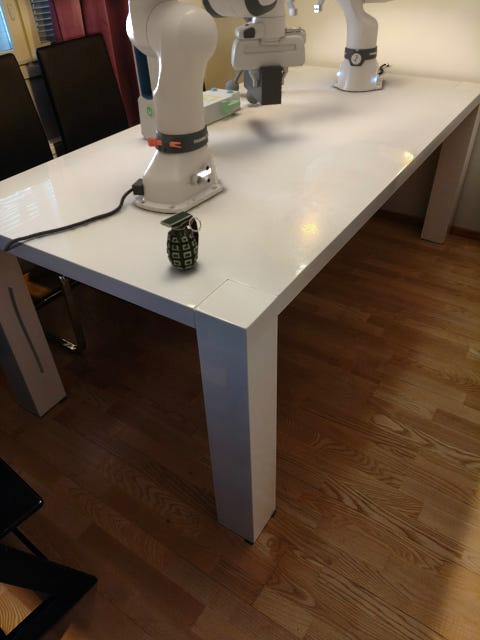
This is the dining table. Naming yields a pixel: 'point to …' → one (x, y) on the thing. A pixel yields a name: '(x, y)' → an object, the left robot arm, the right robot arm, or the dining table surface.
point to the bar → (265, 85)
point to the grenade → (182, 240)
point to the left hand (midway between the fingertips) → (268, 85)
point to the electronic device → (146, 91)
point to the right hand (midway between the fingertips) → (306, 14)
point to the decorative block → (219, 104)
